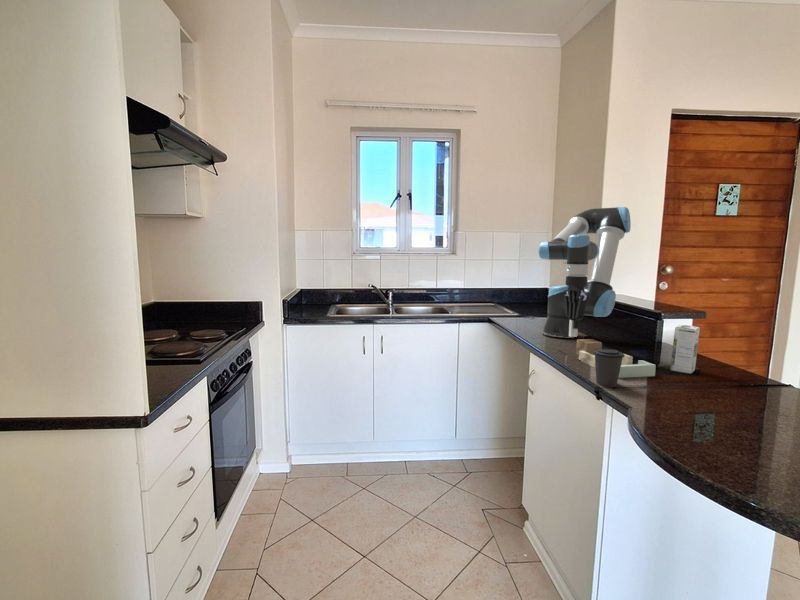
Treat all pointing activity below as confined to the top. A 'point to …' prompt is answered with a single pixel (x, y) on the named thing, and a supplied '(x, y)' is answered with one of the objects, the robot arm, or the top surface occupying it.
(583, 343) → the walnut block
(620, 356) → the coffee cup
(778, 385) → the top surface
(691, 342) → the syrup box
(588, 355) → the tunnel
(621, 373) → the backstop bay
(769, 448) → the top surface
